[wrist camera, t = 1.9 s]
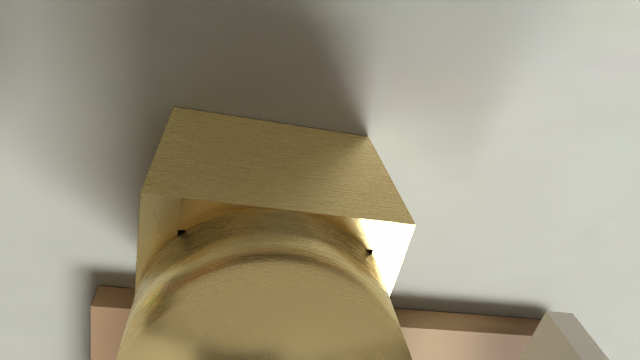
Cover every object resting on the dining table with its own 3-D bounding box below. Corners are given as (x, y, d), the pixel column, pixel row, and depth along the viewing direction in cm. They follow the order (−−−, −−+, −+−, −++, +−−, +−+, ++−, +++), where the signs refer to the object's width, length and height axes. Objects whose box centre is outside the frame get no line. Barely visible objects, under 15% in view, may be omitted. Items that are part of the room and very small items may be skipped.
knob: (160, 268, 17) (97, 519, 10) (173, 106, 14) (100, 294, 7) (327, 282, 18) (376, 513, 11) (368, 136, 15) (467, 321, 8)
